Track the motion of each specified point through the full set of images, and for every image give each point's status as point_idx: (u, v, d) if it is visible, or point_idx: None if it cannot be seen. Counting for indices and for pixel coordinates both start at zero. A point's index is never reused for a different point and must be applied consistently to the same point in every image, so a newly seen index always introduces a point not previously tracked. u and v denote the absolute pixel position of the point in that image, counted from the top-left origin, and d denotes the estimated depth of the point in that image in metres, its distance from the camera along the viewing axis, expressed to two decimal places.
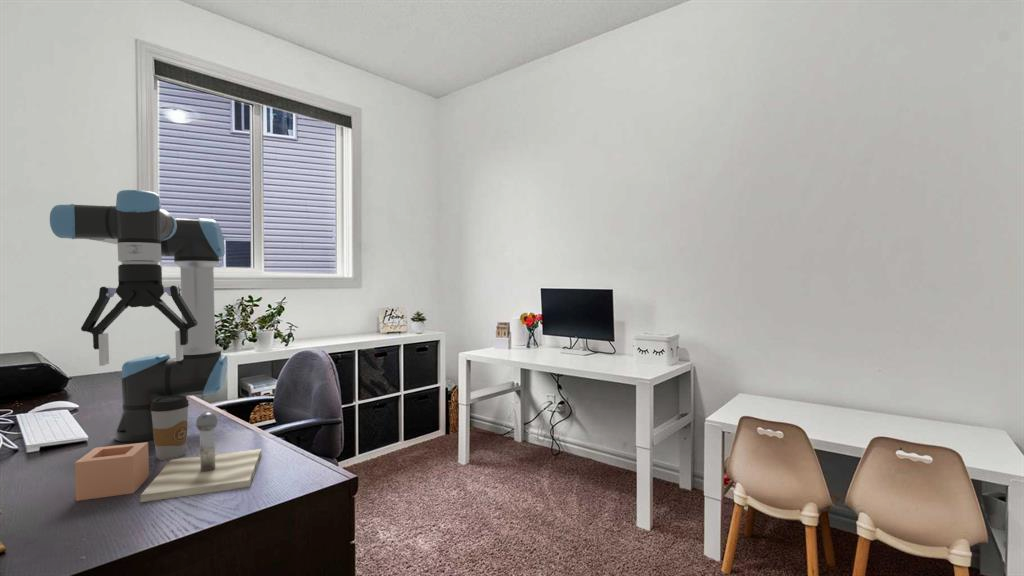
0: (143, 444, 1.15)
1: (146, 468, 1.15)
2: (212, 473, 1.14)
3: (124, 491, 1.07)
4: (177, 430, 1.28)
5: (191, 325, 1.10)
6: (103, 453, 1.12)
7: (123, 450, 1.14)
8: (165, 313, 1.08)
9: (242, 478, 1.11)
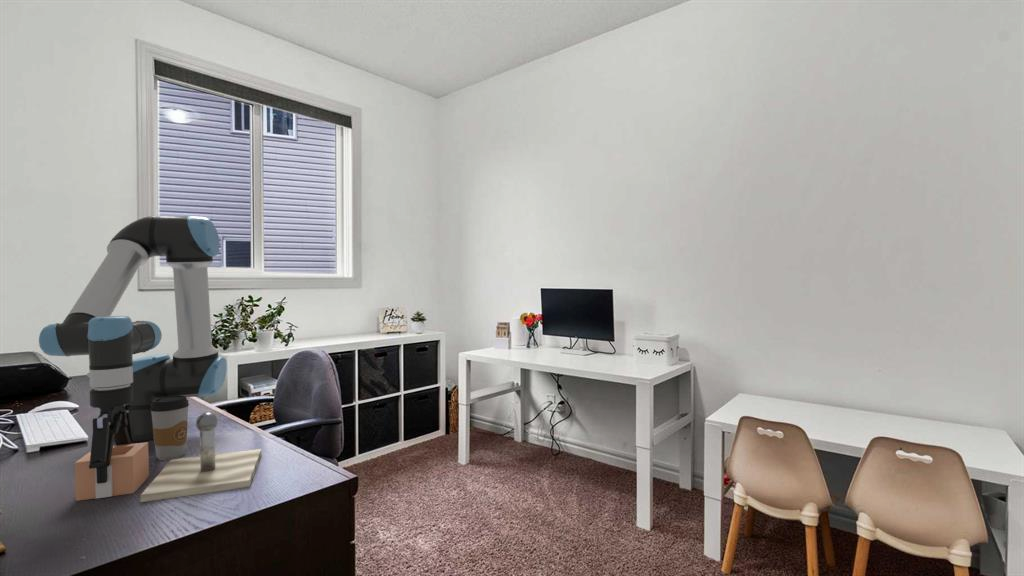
0: (143, 444, 1.15)
1: (146, 468, 1.15)
2: (212, 473, 1.14)
3: (124, 491, 1.07)
4: (177, 430, 1.28)
5: None
6: None
7: (123, 450, 1.14)
8: None
9: (242, 478, 1.11)
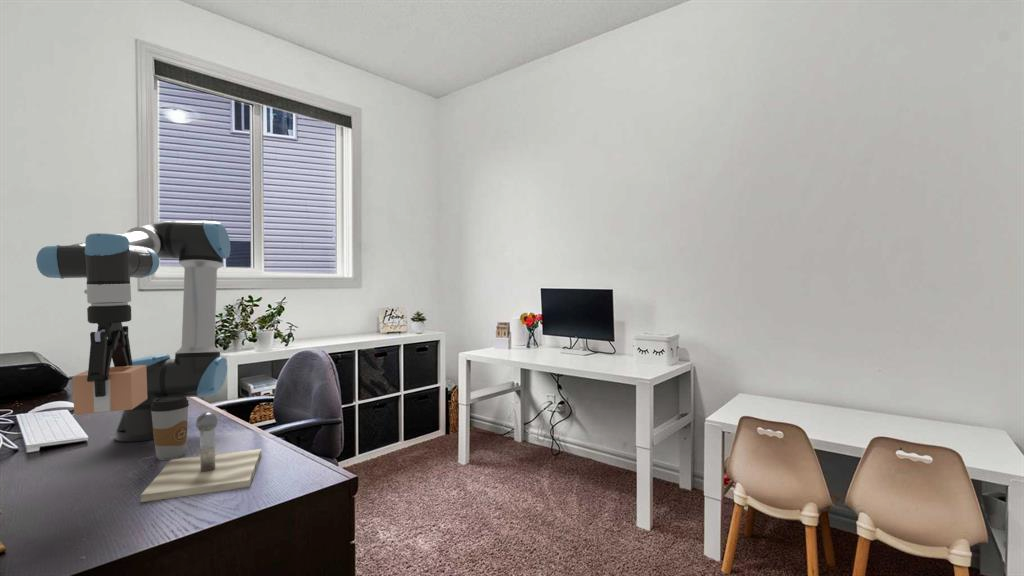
0: (141, 366, 1.15)
1: (144, 390, 1.15)
2: (212, 473, 1.14)
3: (122, 407, 1.07)
4: (177, 430, 1.28)
5: None
6: None
7: (121, 371, 1.13)
8: None
9: (242, 478, 1.11)
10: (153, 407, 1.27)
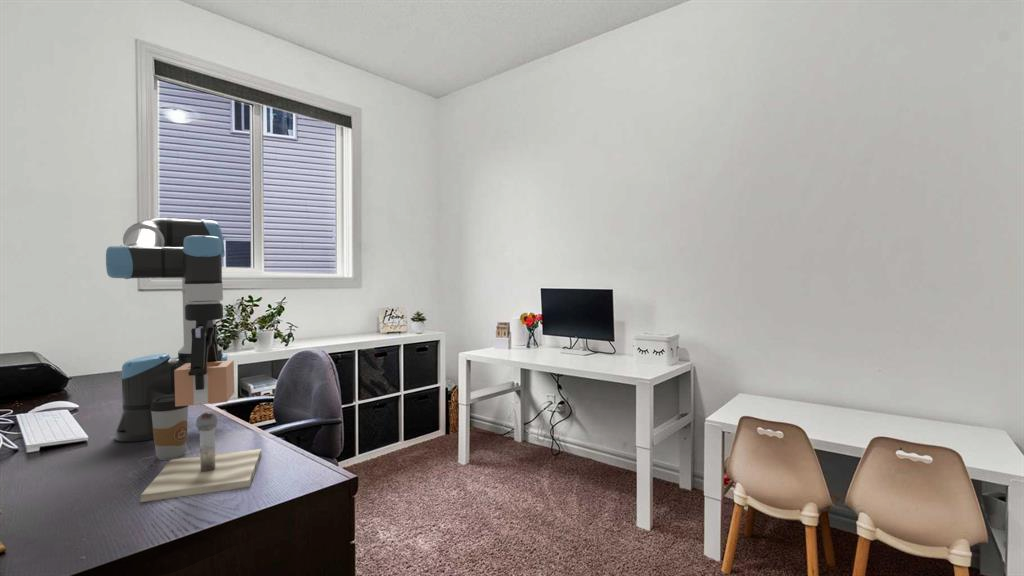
0: (230, 361, 1.21)
1: (232, 384, 1.21)
2: (212, 473, 1.14)
3: (218, 400, 1.13)
4: (177, 430, 1.28)
5: None
6: None
7: (212, 366, 1.19)
8: None
9: (242, 478, 1.11)
10: (153, 407, 1.27)
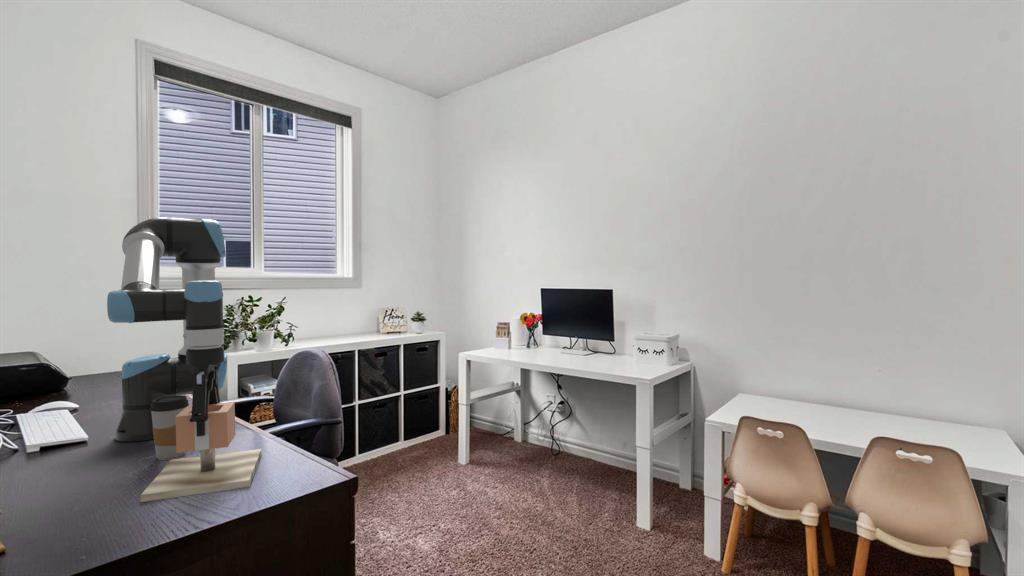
0: (231, 403, 1.21)
1: (233, 426, 1.21)
2: (212, 473, 1.14)
3: (219, 445, 1.13)
4: None
5: None
6: None
7: (213, 409, 1.20)
8: None
9: (242, 478, 1.11)
10: (153, 407, 1.27)
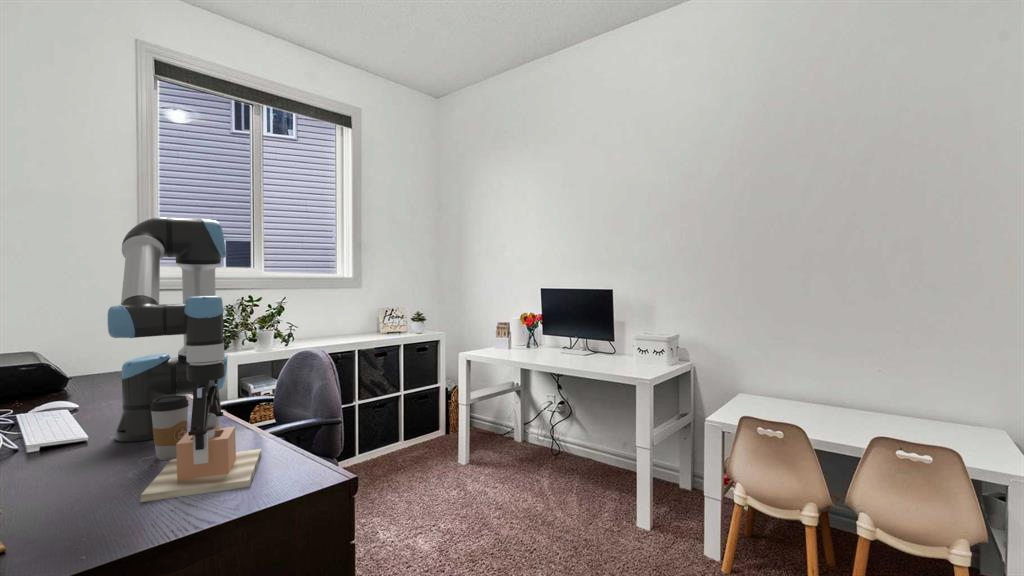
0: (232, 428, 1.21)
1: (234, 451, 1.22)
2: None
3: (220, 471, 1.13)
4: (177, 430, 1.28)
5: None
6: None
7: None
8: None
9: (242, 478, 1.11)
10: (153, 407, 1.27)
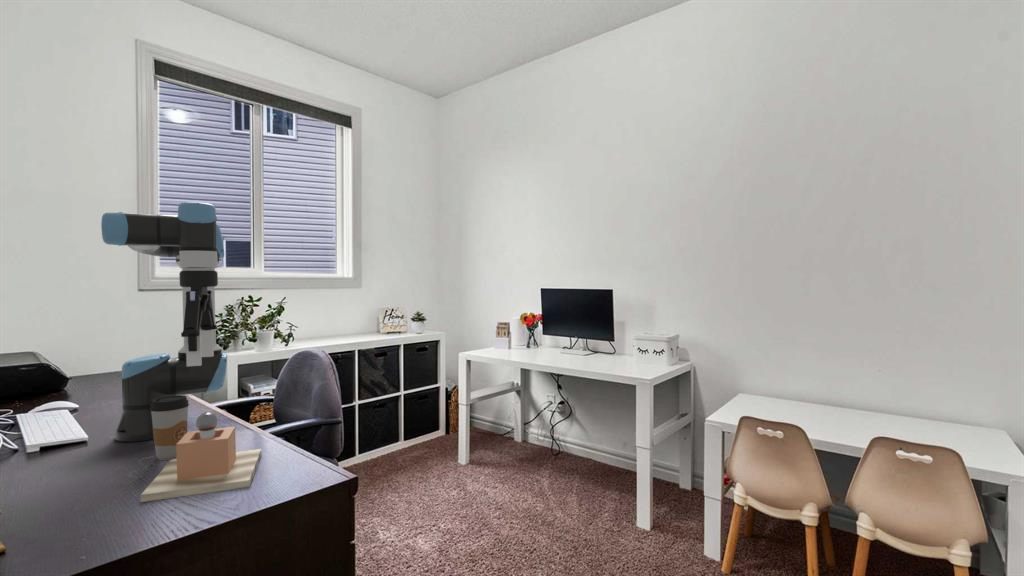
0: (232, 428, 1.21)
1: (234, 451, 1.22)
2: None
3: (220, 471, 1.13)
4: (177, 430, 1.28)
5: None
6: (196, 436, 1.19)
7: None
8: None
9: (242, 478, 1.11)
10: (153, 407, 1.27)
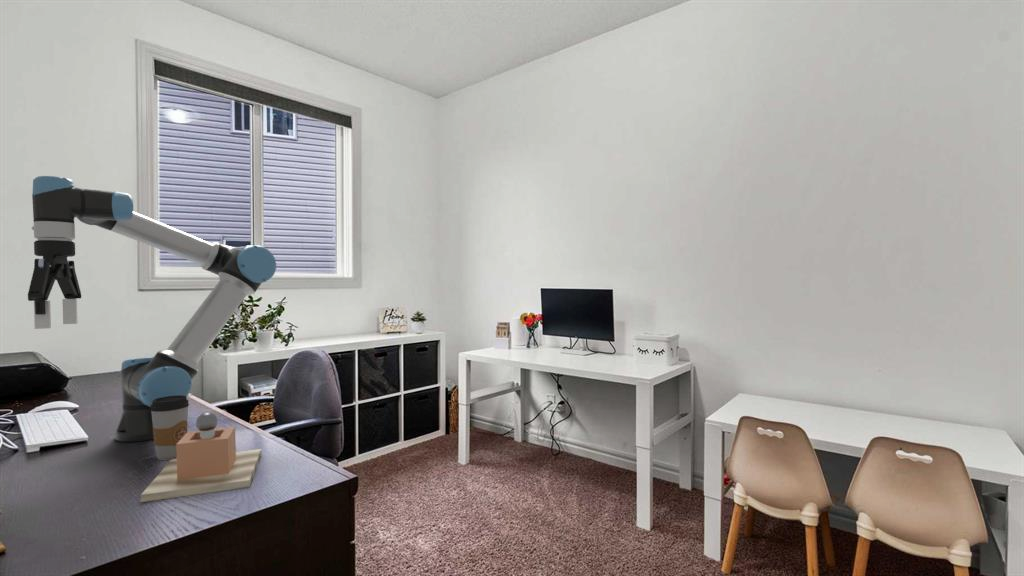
0: (232, 428, 1.21)
1: (234, 451, 1.22)
2: None
3: (220, 471, 1.13)
4: (177, 430, 1.28)
5: None
6: (196, 436, 1.19)
7: None
8: None
9: (242, 478, 1.11)
10: (153, 407, 1.27)
